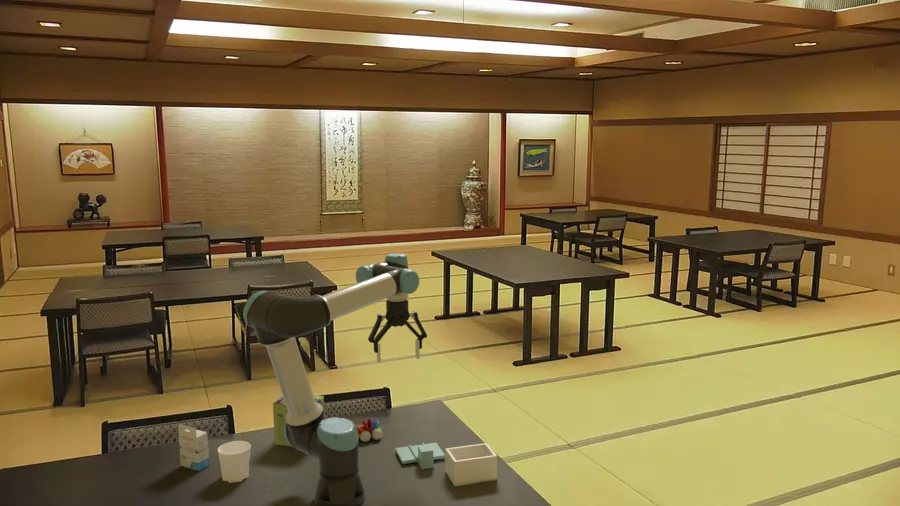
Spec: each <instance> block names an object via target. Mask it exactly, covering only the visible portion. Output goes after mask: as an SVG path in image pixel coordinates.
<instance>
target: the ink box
mask: <svg viewBox="0 0 900 506" xmlns="http://www.w3.org/2000/svg"><path fill="white" fill-rule="evenodd" d="M177 426H178V428H177V429H178V444H179V455H180V456H179V458H180V466H181V467H182V466H185V467H184V468H186V467H188V468H187V469H189V468H191V469H190V470H193V469H194V470H193V471H196V470H197V471H196V472H200V471H202V470H204V469H205V468H208V467H209V466H210V453H209V439H208V438H209V437H208V431H203V430H199V429H196V427H191V426H188V425H184V424H180V423H179V424H178V425H177Z"/></svg>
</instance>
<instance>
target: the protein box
mask: <svg viewBox="0 0 900 506" xmlns="http://www.w3.org/2000/svg"><path fill="white" fill-rule="evenodd" d="M313 396H314V399H315V402H317V403H319V404H321V405H322V407H323V410H324V411H325V400H324V399H325V396H323V395H313ZM272 411H273V413H272V414H273V434H274V436H273V440H274V441H273V442H274V445H275V446H276V445H277V446H284V445H285V446H286V447H292V446H291V445H290V444H289V443H288V442H287V441H286V439H285V436H284V426H285V425H286V423H285V422H286V420H285V418H286V415H287V414H288V410H287V407H286V404H285V401H284V398H283V395H281V397H280V398H278V399H277V400H276V401H274V403H272Z"/></svg>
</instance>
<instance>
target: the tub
mask: <svg viewBox="0 0 900 506" xmlns="http://www.w3.org/2000/svg"><path fill="white" fill-rule="evenodd" d="M444 455H445V458H444V459H445V474H446V475H447V477H448V478H449V480H450V481H451V483H452V484H453V487H460V486H466V485H472V484H479V483H484V482H493V481H497V480H498V455H497V453H495V451H494V450H493V449H492V448H491V447H490V446H489V444H488V443H487V442H484V443H476V444H469V445H462V446H455V447H448V448H447V447H446V448H445V453H444Z"/></svg>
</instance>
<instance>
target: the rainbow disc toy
mask: <svg viewBox="0 0 900 506" xmlns="http://www.w3.org/2000/svg"><path fill="white" fill-rule="evenodd" d="M361 423H362V425H359V424H358V425H356V427H357V432H358V437H359V439H360V441H361V442H364V443H367V442H369V441H370V440H371V439H373V440H375V441H377V440H380V439H381V438H382V436H383V429H382V428H381V426H380V421H379V420H374V419H373V418H372V417H370V418H368V419H367V421H365V419H362V420H361Z"/></svg>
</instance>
